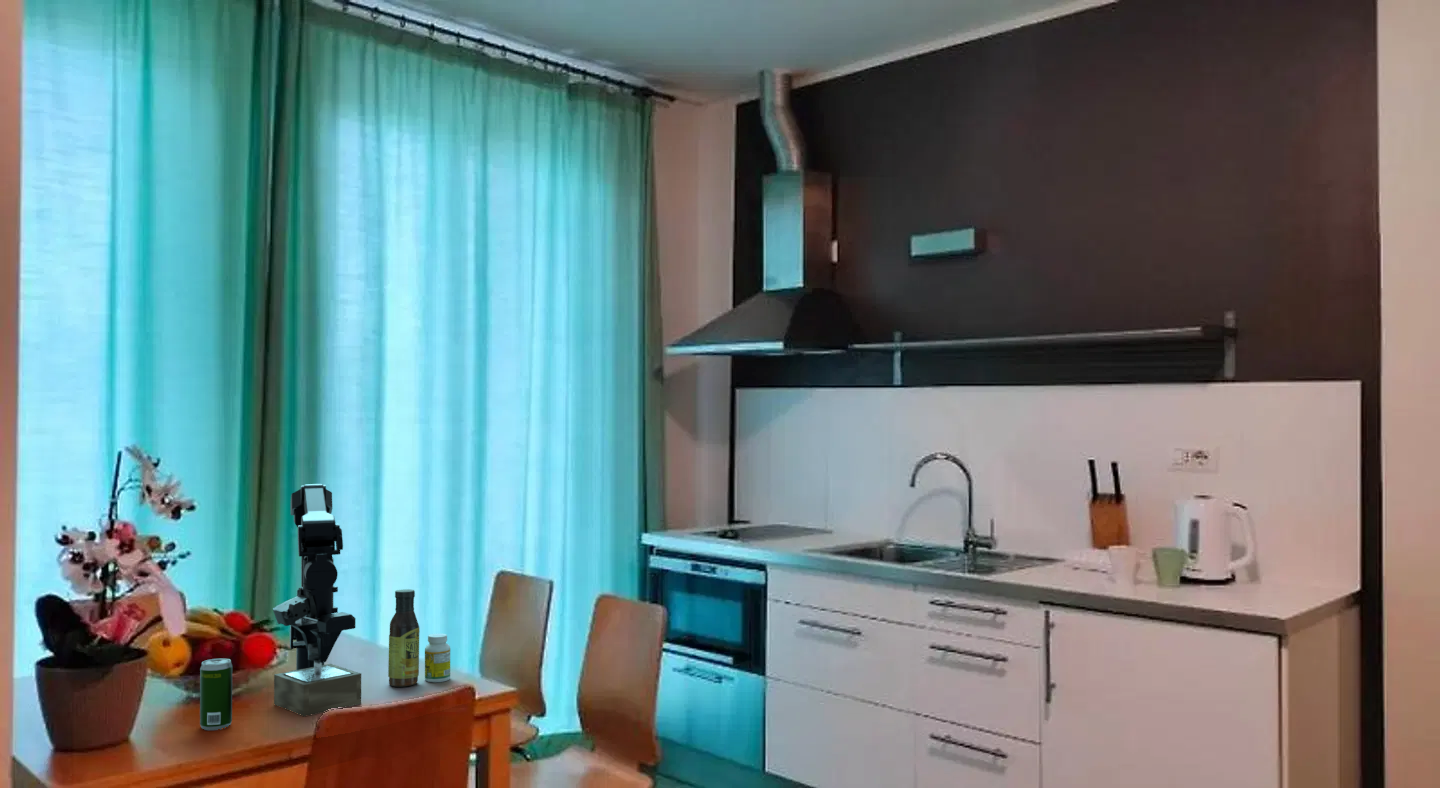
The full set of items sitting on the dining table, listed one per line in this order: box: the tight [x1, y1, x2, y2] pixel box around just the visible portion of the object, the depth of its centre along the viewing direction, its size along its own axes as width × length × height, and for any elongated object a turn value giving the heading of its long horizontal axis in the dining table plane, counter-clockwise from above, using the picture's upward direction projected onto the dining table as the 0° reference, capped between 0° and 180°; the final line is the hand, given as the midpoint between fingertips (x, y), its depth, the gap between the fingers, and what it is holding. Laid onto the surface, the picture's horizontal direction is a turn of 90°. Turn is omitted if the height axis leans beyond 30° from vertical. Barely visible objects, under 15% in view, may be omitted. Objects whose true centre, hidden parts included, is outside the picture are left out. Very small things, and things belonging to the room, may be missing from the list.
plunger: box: [284, 642, 351, 683], centre depth 218 cm, size 9×9×7 cm
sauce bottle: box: [387, 588, 420, 688], centre depth 234 cm, size 6×6×20 cm
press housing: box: [273, 663, 362, 717], centre depth 218 cm, size 12×12×6 cm
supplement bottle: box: [424, 633, 451, 683], centre depth 238 cm, size 5×5×10 cm
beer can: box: [199, 658, 233, 731], centre depth 203 cm, size 5×5×12 cm
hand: (317, 660), depth 218 cm, fingers closed on plunger, 4 cm apart
